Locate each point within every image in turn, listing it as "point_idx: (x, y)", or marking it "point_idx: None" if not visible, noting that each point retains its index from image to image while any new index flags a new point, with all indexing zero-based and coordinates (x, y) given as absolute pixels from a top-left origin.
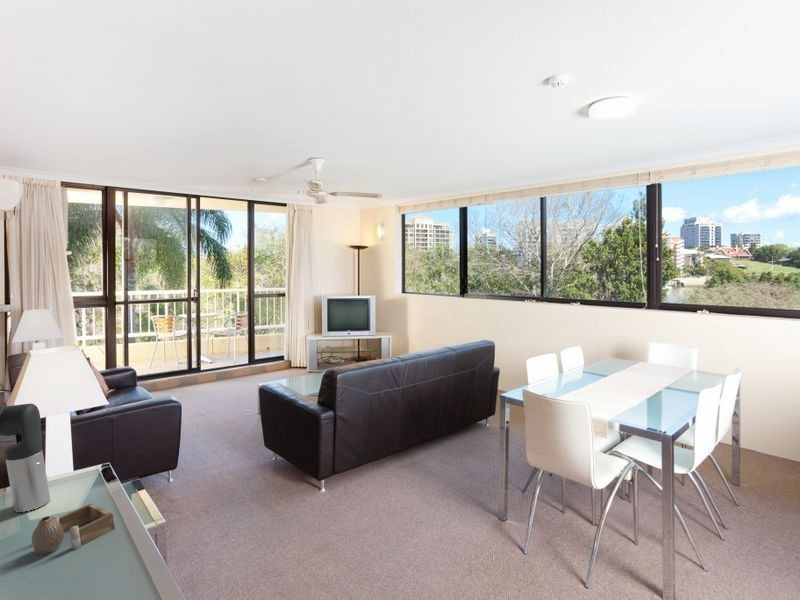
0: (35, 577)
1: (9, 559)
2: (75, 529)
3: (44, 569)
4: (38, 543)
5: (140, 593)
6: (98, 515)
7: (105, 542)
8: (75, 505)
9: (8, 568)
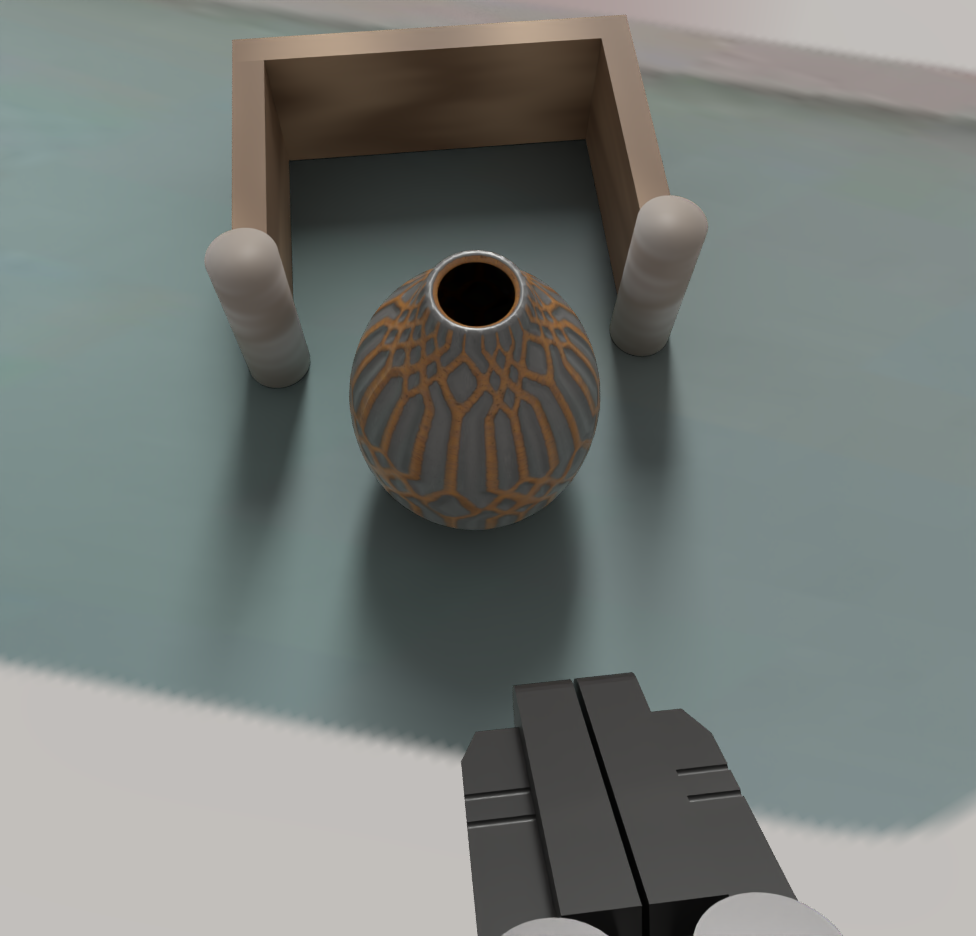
0: (848, 636)
1: (313, 703)
2: (705, 226)
3: (777, 562)
4: (560, 479)
5: None
6: (436, 88)
7: (755, 207)
8: None
9: None
